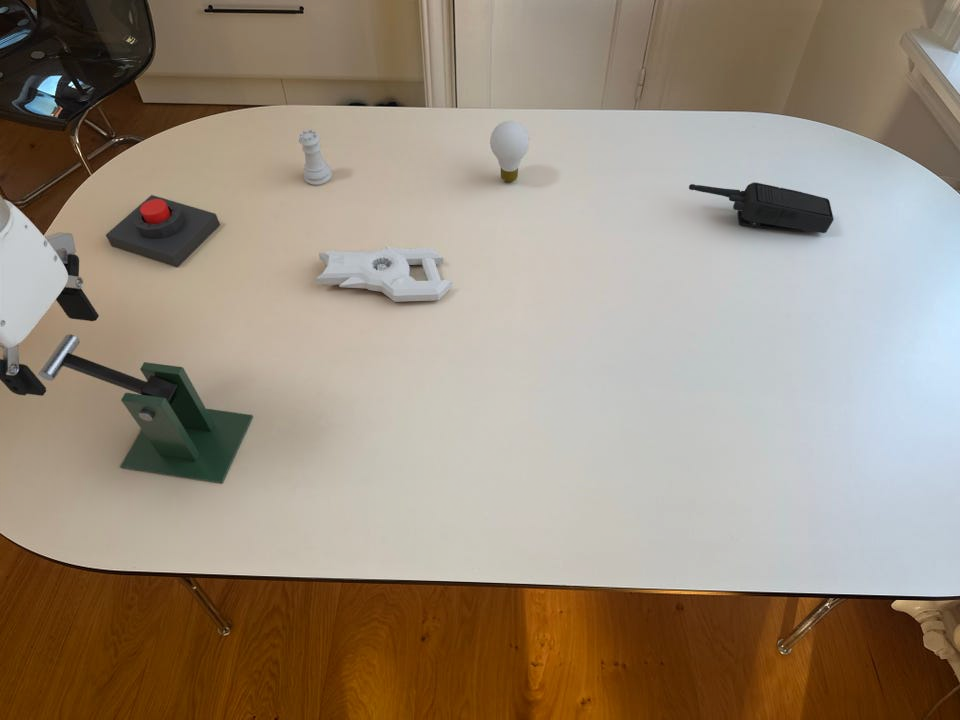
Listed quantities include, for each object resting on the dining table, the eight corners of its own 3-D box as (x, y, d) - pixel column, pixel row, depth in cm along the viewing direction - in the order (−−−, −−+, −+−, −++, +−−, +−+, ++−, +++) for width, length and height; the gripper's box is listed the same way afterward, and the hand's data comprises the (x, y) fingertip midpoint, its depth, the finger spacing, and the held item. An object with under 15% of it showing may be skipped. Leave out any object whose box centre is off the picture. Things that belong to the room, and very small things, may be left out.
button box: (111, 246, 103) (99, 225, 100) (156, 206, 109) (146, 184, 106) (177, 267, 100) (167, 246, 97) (220, 225, 105) (212, 203, 102)
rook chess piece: (299, 183, 112) (287, 139, 105) (312, 167, 114) (301, 123, 108) (324, 188, 111) (314, 144, 104) (337, 172, 113) (328, 128, 107)
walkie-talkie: (832, 236, 98) (689, 212, 99) (814, 239, 104) (680, 216, 105) (842, 191, 97) (698, 168, 98) (824, 197, 103) (688, 175, 104)
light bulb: (510, 164, 114) (511, 108, 106) (535, 181, 111) (538, 125, 103) (482, 179, 111) (481, 122, 104) (507, 197, 108) (508, 140, 101)
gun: (312, 291, 91) (317, 241, 97) (316, 310, 93) (321, 259, 100) (453, 287, 92) (449, 238, 99) (453, 306, 95) (449, 256, 101)
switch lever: (39, 379, 70) (37, 367, 68) (66, 342, 73) (65, 329, 71) (160, 423, 73) (162, 412, 71) (182, 385, 76) (183, 374, 74)
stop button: (139, 221, 101) (134, 211, 100) (156, 206, 103) (151, 196, 102) (159, 227, 100) (154, 217, 99) (175, 212, 102) (171, 202, 101)
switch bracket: (124, 472, 79) (75, 411, 70) (160, 407, 84) (119, 343, 75) (225, 487, 77) (188, 427, 68) (255, 420, 83) (225, 356, 74)
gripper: (-21, 152, 63) (71, 288, 76) (-164, 287, 52) (-28, 419, 65) (55, 158, 62) (135, 295, 75) (-75, 298, 51) (44, 429, 64)
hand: (59, 353), depth 70 cm, fingers open, 9 cm apart
